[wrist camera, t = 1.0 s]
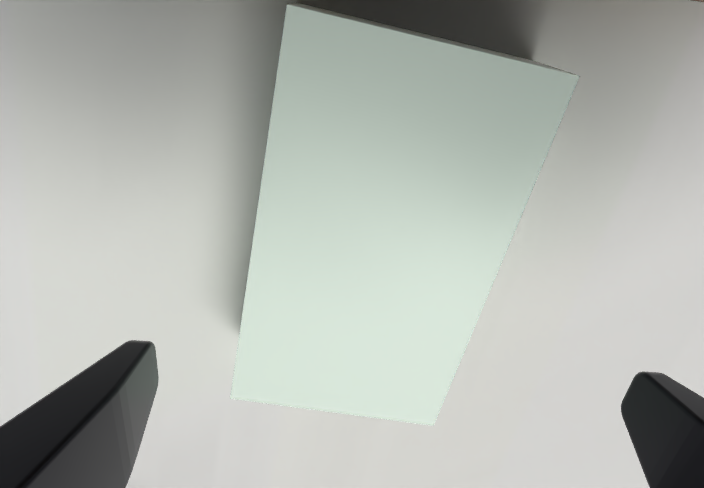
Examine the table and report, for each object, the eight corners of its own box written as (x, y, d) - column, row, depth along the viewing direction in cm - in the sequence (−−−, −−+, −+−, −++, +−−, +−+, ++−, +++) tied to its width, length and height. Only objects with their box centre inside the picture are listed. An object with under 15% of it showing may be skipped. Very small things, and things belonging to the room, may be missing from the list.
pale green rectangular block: (527, 58, 13) (580, 75, 11) (418, 359, 18) (433, 425, 15) (297, 2, 13) (287, 4, 10) (246, 332, 17) (230, 398, 15)
